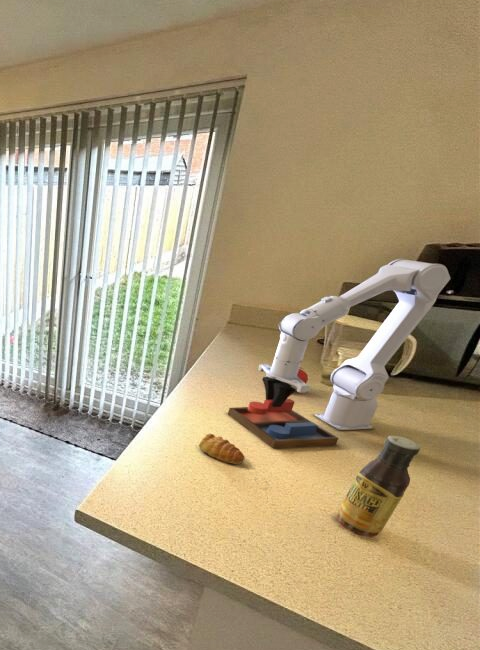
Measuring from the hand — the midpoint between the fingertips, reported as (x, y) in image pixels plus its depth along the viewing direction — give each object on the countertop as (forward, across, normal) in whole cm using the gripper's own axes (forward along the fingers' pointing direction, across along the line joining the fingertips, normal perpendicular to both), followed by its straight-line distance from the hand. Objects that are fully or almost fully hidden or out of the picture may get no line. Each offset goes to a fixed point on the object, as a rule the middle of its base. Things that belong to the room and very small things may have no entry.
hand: (273, 404), depth 109 cm
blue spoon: (+4, +8, -1) cm, 9 cm away
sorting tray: (+5, +4, 0) cm, 7 cm away
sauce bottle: (+6, +39, -12) cm, 41 cm away
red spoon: (+2, 0, -1) cm, 2 cm away
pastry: (+6, +14, -23) cm, 28 cm away
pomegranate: (+5, -19, +21) cm, 29 cm away
